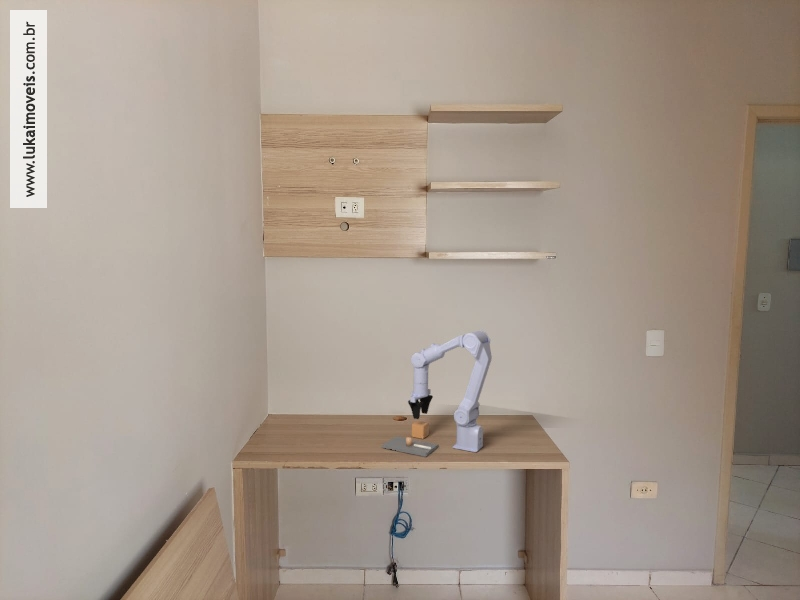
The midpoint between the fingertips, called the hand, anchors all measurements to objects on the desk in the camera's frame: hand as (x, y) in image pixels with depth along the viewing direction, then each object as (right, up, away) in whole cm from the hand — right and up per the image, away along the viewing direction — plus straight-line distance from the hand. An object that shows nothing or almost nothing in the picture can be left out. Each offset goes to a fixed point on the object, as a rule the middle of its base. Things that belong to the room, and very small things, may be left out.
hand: (420, 415), depth 204 cm
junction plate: (-4, -9, -12) cm, 15 cm away
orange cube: (0, -8, +1) cm, 8 cm away
